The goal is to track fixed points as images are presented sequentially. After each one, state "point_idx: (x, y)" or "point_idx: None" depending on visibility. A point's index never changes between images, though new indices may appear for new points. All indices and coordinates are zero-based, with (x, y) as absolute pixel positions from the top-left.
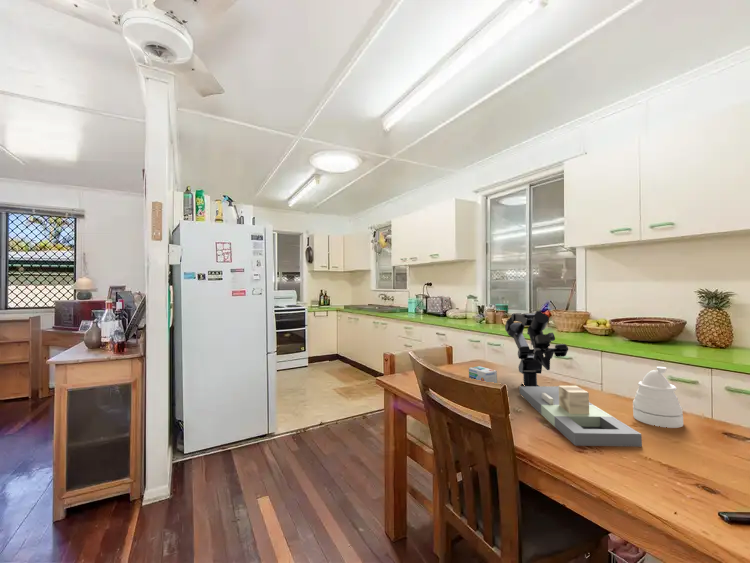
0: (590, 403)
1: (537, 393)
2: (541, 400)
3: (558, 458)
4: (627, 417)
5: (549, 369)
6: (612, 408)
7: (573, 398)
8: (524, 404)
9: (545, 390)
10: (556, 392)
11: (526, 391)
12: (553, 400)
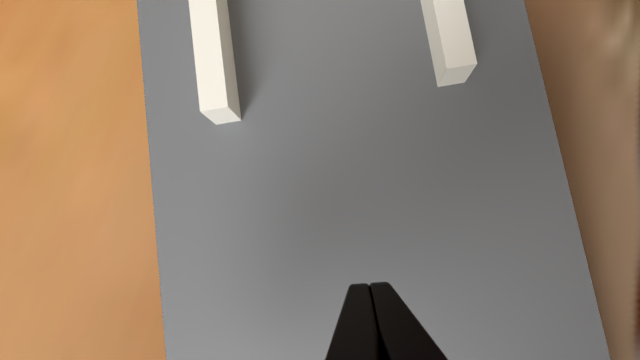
0: (144, 20)
1: (480, 211)
2: (481, 19)
3: None
4: (9, 27)
5: (353, 292)
6: (9, 170)
7: None
8: (569, 151)
9: None
10: (304, 268)
11: (576, 262)
12: (387, 36)
